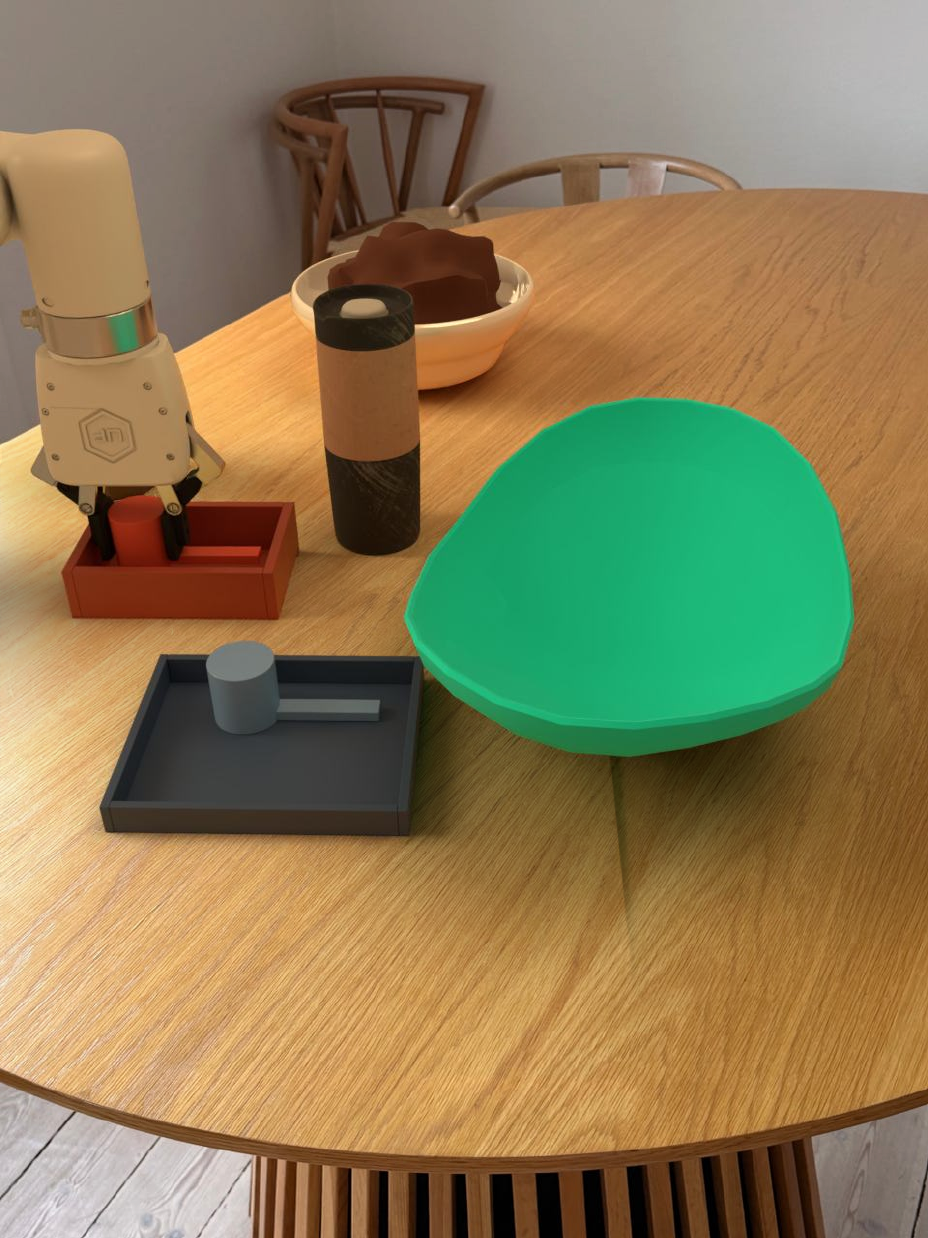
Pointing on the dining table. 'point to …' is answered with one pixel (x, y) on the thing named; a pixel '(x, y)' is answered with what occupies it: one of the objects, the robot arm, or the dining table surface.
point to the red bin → (193, 570)
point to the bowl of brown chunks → (434, 295)
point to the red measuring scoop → (161, 538)
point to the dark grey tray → (271, 755)
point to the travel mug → (370, 415)
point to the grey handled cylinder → (267, 693)
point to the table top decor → (640, 583)
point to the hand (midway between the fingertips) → (144, 549)
